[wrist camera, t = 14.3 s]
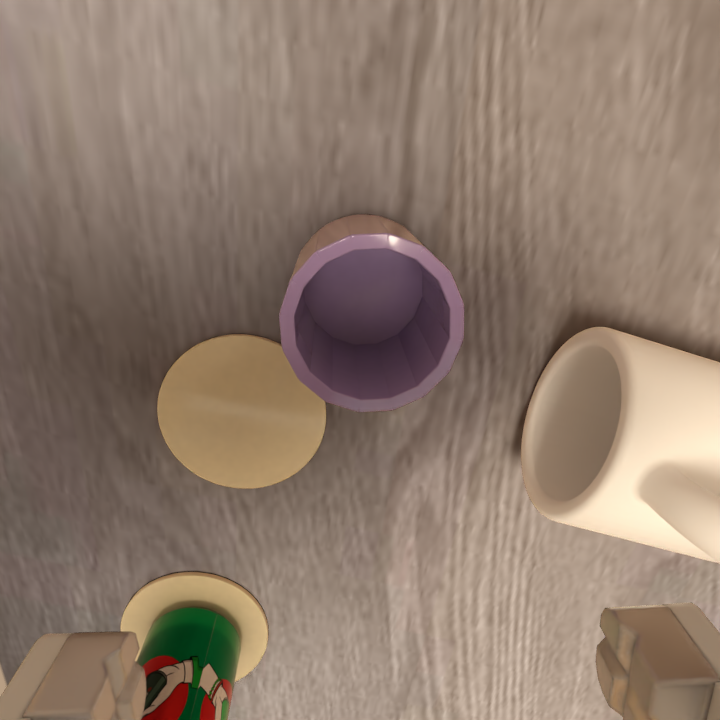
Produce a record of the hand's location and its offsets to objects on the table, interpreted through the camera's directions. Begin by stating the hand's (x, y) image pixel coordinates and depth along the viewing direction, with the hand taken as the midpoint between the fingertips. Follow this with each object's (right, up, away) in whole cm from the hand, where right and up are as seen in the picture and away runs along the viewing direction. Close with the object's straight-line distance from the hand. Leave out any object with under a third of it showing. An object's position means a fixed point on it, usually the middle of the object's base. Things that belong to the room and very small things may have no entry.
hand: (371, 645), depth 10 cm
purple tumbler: (0, +8, +16) cm, 18 cm away
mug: (+13, +3, +19) cm, 23 cm away
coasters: (-8, -4, +20) cm, 21 cm away
